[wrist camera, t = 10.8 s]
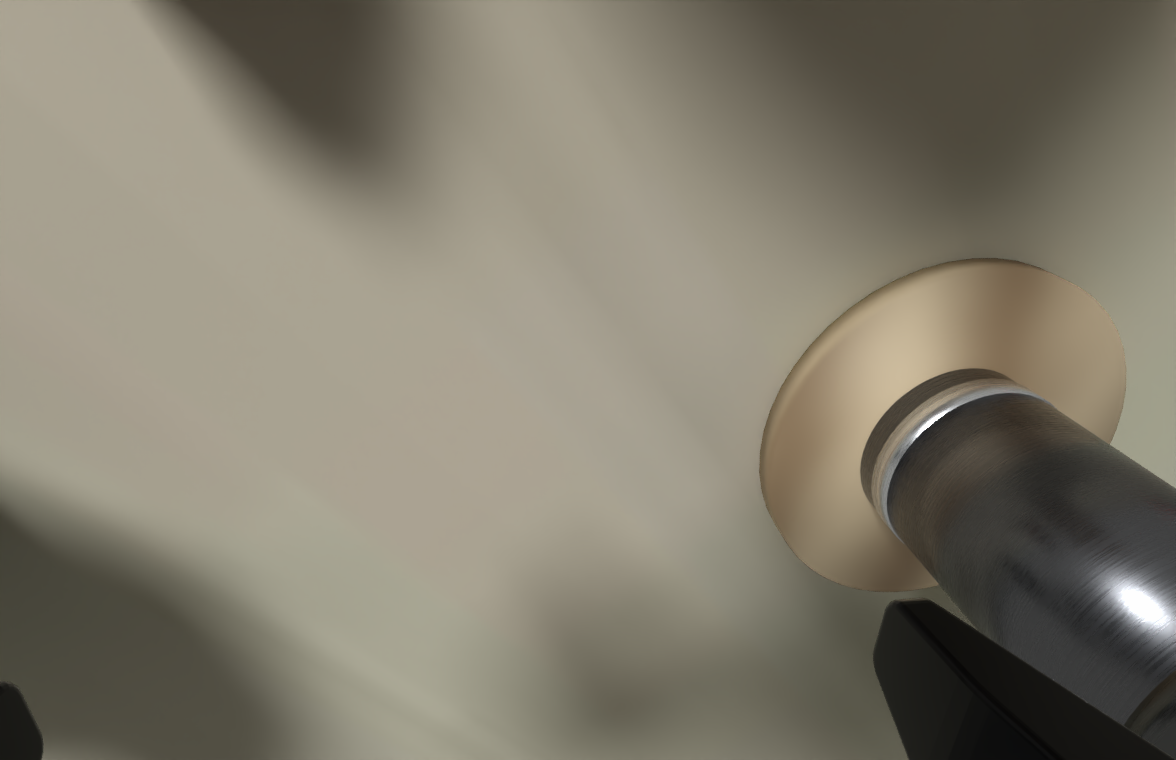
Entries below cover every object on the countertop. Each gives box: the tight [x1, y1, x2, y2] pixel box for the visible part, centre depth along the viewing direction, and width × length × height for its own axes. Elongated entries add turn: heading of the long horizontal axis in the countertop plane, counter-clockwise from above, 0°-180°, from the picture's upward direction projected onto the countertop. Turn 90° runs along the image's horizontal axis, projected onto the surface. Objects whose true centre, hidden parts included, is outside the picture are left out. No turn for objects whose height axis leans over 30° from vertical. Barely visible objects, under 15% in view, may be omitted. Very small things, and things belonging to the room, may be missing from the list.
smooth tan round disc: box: [759, 258, 1126, 592], centre depth 24 cm, size 12×12×1 cm
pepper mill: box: [860, 368, 1176, 759], centre depth 18 cm, size 8×6×12 cm
